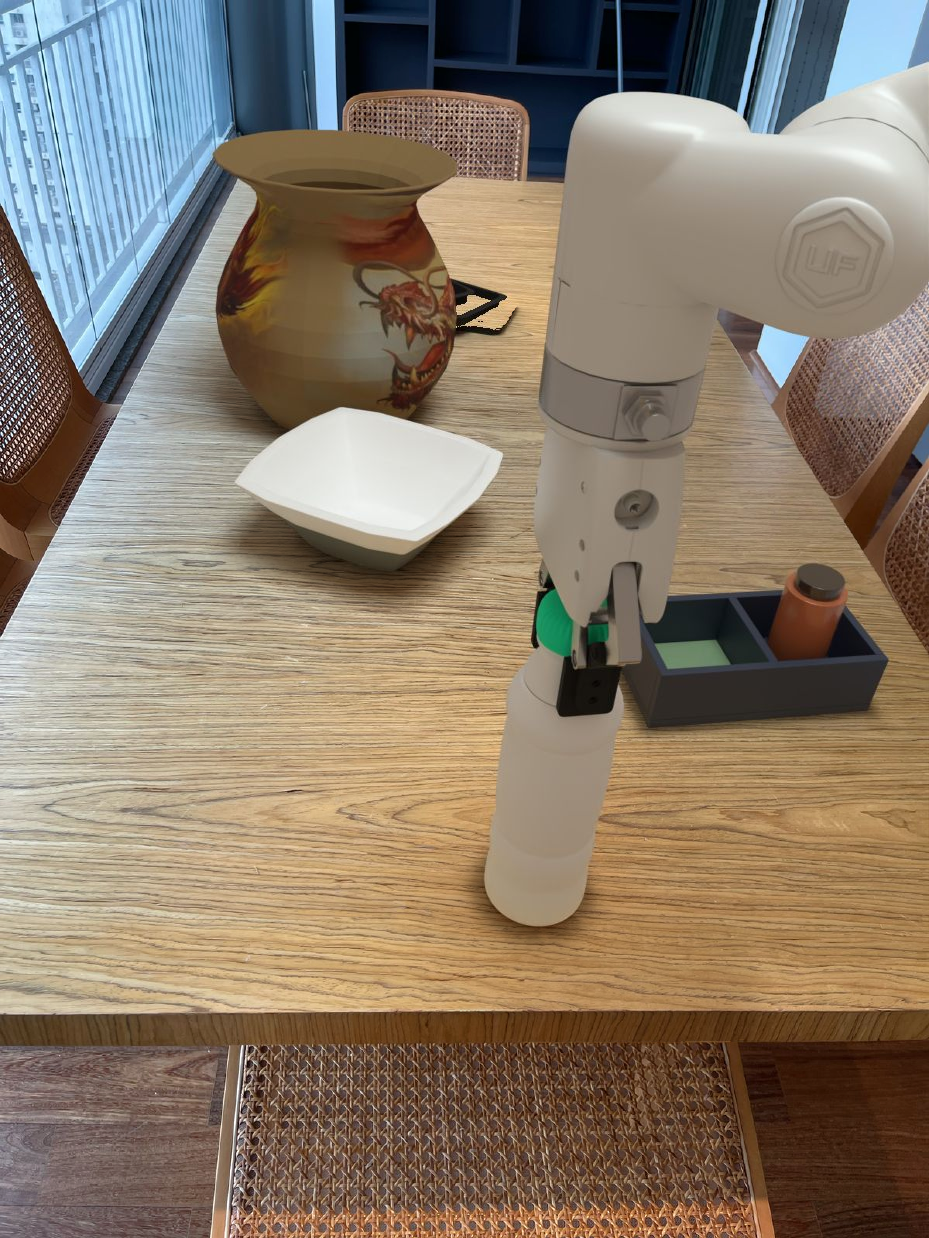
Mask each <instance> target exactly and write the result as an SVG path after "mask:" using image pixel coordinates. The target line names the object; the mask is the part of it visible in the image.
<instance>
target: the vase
mask: <svg viewBox="0 0 929 1238" xmlns="http://www.w3.org/2000/svg"><path fill="white" fill-rule="evenodd" d="M212 156H213V158H214V161H215V163H216V165H217V166H218V167H220V168H221V169H222V170H224V171H225V172H227V173H229V174H230V175H232V176H233V177H235V178H236V179H238V180H240V181H241V182H243V183H244V184H245V185H247V186H249V187H250V188H251V189H252V190H253V191H254V193H255V197H256V201H255V204H254V208H253V210H252V213H251V214H250V215H249V217H248V218H247V221H246V222H245V224H244V226H243V227H242V229H241V231H240V232H239V234H238V237H237V238H236V241H235V243H234V245H233V247H232V249H231V251H230V253H229V256H228V257H227V260H226V262H225V264H224V266H223V269H222V273H221V275H220V279H219V281H218V284H217V288H216V289H217V290H216V300H215V316H216V325H217V331H218V335H219V338H220V341H221V345H222V348H223V351H224V353H225V357H226V359H227V362H228V364H229V367H230V369H231V370H232V372H233V374H234V375H235V376H236V378H237V379H238V381H239V383H240V384H241V386H242V387H243V389H245V391H247V392H248V394H249V396H251V397H252V399H253V400H254V401H255V402H256V404H257V405H258V406H259V407H260V408H261V409H262V410H263V411H264V413H265V414H266V415H267V416H268V417H269V418H270V419H271V420H272V421H273V422H274V423H276V424H277V425H278V426H280V427H281V428H284V429H286V430H288V431H291V430H293V429H294V428H296V427H298V426H300V425H301V424H303V423H305V422H307V421H308V420H310V419H312V418H315V417H317V416H320V415H322V414H324V413H327V412H329V411H332V410H334V409H337V408H339V407H345V408H351V409H358V410H364V411H371V412H378V413H382V414H386V415H389V416H393V417H397V418H400V419H404V420H408V419H409V418H410V416H411V415H412V414H413V413H414V412H415V411H416V410H417V408H418V407H419V406H420V405H421V403H422V402H423V401H424V400H425V398H427V396H428V395H430V393H431V392H432V391H433V389H434V388H435V387H436V386H437V384H438V383H439V381H440V380H441V378H442V376H443V374H444V373H445V372H446V370H447V368H448V366H449V363H450V359H451V358H452V357H451V356H452V354H453V351H454V346H455V338H456V330H457V329H456V315H457V312H456V302H455V293H454V289H453V286H452V283H451V280H450V278H451V277H450V274H449V271H448V268H447V266H446V264H445V262H444V260H443V258H442V255H441V253H440V251H439V249H438V247H437V244H436V242H435V241H434V239H433V236H432V235H431V233H430V231H429V229H428V228H427V225H426V224H425V222H424V220H423V218H422V216H421V215H420V213H419V208H418V205H417V204H418V200H419V199H420V198H422V196H424V195H425V194H427V193H428V192H430V191H432V190H434V189H436V188H437V187H440V185H443V184H444V183H446V182H447V181H449V180H451V179H452V178H453V177H454V176H456V175H458V161H456V160H455V159H454V158H453V157H452V156H450V155H449V154H448V153H447V152H445V151H443V150H441V149H438V148H435V147H433V146H431V145H429V144H426V143H423V142H418V141H414V140H411V139H406V138H402V137H398V136H390V135H385V134H378V133H372V132H365V131H351V130H341V129H340V130H339V129H287V130H273V131H263V132H257V133H252V134H251V133H250V134H247V135H241V136H238V137H235V138H233V139H230V140H227V141H224V142H221V143H220V145H218V147H216V149H215V150H214V151H213V152H212Z"/></svg>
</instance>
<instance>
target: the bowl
mask: <svg viewBox="0 0 929 1238" xmlns="http://www.w3.org/2000/svg"><path fill="white" fill-rule="evenodd" d="M503 458H504V452H502V451H500V450H498V449H495V448H493V447H490V446H488V445H487V444H484V443H481V442H479V441H477V440H476V439H473V438H470V437H466V436H463V435H460V434H456V433H453V432H450V431H446V430H443V429H440V428H436V427H432V426H429V425H426V424H422V423H418V422H415V421H411V420H408V419H407V420H404V419H400V418H397V417H393V416H389V415H386V414H382V413H378V412H371V411H364V410H358V409H351V408H345V407H339V408H337V409H334V410H332V411H329V412H327V413H324V414H322V415H320V416H317V417H315V418H312V419H310V420H308V421H307V422H305V423H303V424H301V425H300V426H298V427H296V428H294V429H293V430H291V431H290V430H288V431H287V432H286V433H284V434H282V435H281V436H278V437H277V438H275V440H273V441H272V442H271V443H270V444H269V445H267V446H266V447H265V448H264V449H262V451H260V453H258V454H257V455H256V456H255V457H253V458H252V459H251V460H250V461H249V462H248V463H247V465H246V466H245V467H244V469H243V470H242V471H241V473H240V474H239V475H238V476H237V477H236V479H235V480H234V485H235V486H236V487H237V488H239V489H240V490H242V492H244V493H245V494H247V495H249V497H251V498H253V499H254V500H255V501H256V502H258V503H260V504H261V505H262V506H264V507H265V508H266V509H268V510H269V511H271V512H272V513H273V514H276V516H278V517H279V518H281V519H282V520H283V521H284V522H285V523H286V524H287V525H288V526H289V527H290V528H291V529H292V530H293V531H294V532H296V534H298V536H300V537H301V538H302V539H303V540H304V541H305V543H307V544H308V545H309V546H311V547H313V548H314V549H315V550H318V551H320V552H321V553H323V554H326V555H329V556H331V557H334V558H336V559H340V560H343V561H346V562H349V563H352V564H355V565H358V566H360V567H364V568H367V569H370V570H374V571H381V572H386V573H393V572H395V571H397V570H398V569H400V568H402V567H403V566H406V565H407V564H408V563H410V562H411V561H412V560H413V559H415V558H416V556H419V554H421V552H423V551H424V550H425V548H426V547H427V546H428V545H429V544H430V543H431V542H432V541H433V540H434V539H435V538H436V537H437V535H439V534H440V533H441V532H442V531H443V530H445V528H448V526H449V525H451V524H452V523H453V522H454V521H456V519H458V518H459V517H460V516H462V515H463V514H464V513H465V512H466V511H468V510H469V509H470V508H471V507H472V506H474V505H475V504H476V503H477V502H478V501H480V499H481V498H482V496H483V495H484V493H486V490H487V489H488V488H489V486H490V485H491V484H492V483H493V481H494V480H495V478H496V477H497V475H498V472H499V469H500V467H501V464H502V462H503Z"/></svg>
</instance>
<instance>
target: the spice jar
mask: <svg viewBox="0 0 929 1238" xmlns="http://www.w3.org/2000/svg"><path fill="white" fill-rule="evenodd" d="M845 585H846V578H845V577H844V576H843V574H842V573H840V571H838V570H837V569H835V568H833V567H831V566H829V565H826V564H821V563H816V562H814V563H811V562H809V563H805V564H801V565H800V566H798V567H797V570H796V572H793V573H791V574H790V575H788V576H787V578H786V580H785V583H784V586H783V589H782V590H783V592H782V595H781V598H780V601H779V604H778V607H777V611H776V614H775V617H774V620H773V623H772V626H771V629H770V632H769V635H768V638H767V641H766V643H767V645H768V646H769V648H770V649H771V651H772V652H773V654H774V655H775V657H776V658H777V660H778V661H791V660H806V659H820V658H826V655H827V652H828V650H829V647H830V644H831V642H832V639H833V636H834V634H835V631H836V628H837V626H838V623H839V620H840V618H841V615H842V612H843V610H844V607H845V605H847V602H848V599H849V592H848V590H847V588H846V586H845Z"/></svg>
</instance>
